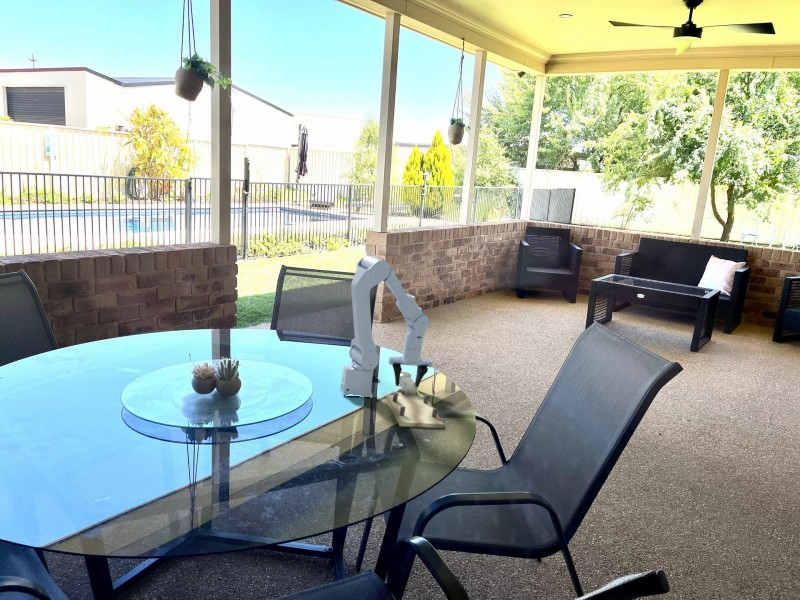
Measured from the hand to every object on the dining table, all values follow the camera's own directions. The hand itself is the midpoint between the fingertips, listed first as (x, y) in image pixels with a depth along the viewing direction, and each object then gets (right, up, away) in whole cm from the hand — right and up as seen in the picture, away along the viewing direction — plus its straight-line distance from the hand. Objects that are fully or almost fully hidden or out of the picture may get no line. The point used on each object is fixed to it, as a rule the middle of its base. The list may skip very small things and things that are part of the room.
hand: (406, 385), depth 195 cm
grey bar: (0, -1, +1) cm, 1 cm away
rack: (+2, -6, -18) cm, 19 cm away
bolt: (-15, +3, +13) cm, 20 cm away
